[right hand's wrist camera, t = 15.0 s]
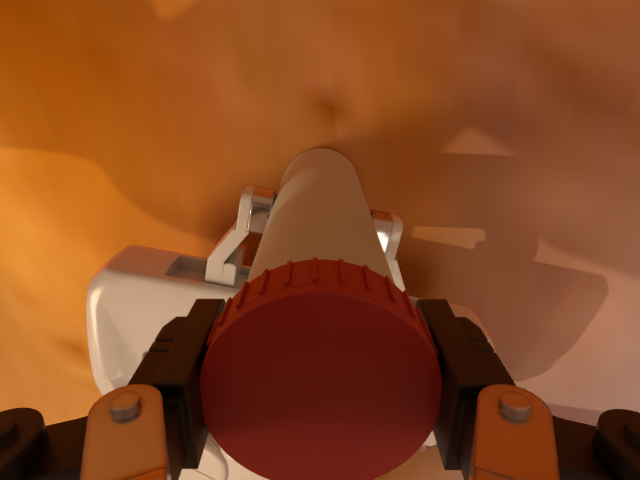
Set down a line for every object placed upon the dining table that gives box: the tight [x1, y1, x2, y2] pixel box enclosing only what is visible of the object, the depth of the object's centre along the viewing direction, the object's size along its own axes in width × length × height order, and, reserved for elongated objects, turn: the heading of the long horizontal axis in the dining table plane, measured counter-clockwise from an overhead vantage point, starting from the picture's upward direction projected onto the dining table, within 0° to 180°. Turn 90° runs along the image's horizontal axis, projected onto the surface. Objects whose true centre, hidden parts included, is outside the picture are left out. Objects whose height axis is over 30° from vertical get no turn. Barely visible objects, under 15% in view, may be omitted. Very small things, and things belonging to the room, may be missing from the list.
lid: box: [199, 257, 443, 480], centre depth 10 cm, size 6×6×2 cm
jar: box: [247, 148, 395, 284], centre depth 18 cm, size 5×5×18 cm
